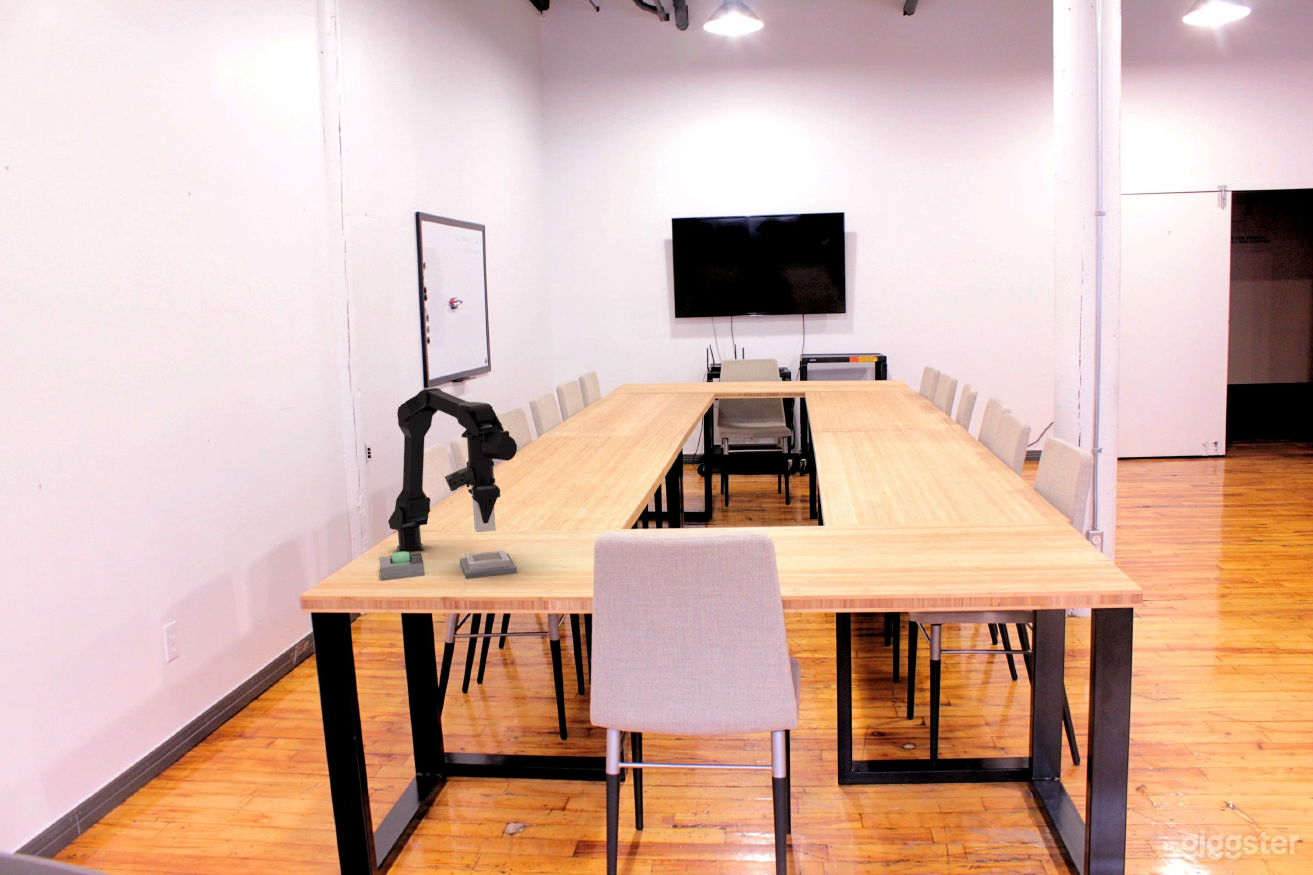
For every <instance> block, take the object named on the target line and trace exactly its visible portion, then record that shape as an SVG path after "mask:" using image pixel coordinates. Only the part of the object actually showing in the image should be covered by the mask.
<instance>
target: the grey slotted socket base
mask: <svg viewBox="0 0 1313 875" xmlns="http://www.w3.org/2000/svg"><path fill="white" fill-rule="evenodd" d="M459 565H460V567H461V569H462V571H463V572H462V573H463V575H464V579H474V578H483V577H491V576H498V575H508V574H510V575H511V574H516V573H518V567H517V566H516V564H515V563H514V561H513V559H512V557H511V556H510V553H507V552H506V551H505V550H504V549H503V550H495V551H484V552H476V553H466V554H465V557H464V558H459Z"/></svg>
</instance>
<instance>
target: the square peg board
mask: <svg viewBox="0 0 1313 875" xmlns="http://www.w3.org/2000/svg"><path fill="white" fill-rule="evenodd" d="M409 558H410V562H402V563H393V561H392V555H387V556H386V555H385V556H380V557H378V560H379V573H380V575H379V576H380V580H381V581H383V580H392V579H402V578H412V577H418V576H419V577H420V576H425V566H424V559H423V554H422V552H417V553H416V552H412V553H409Z"/></svg>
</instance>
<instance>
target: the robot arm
mask: <svg viewBox="0 0 1313 875" xmlns="http://www.w3.org/2000/svg"><path fill="white" fill-rule="evenodd" d="M397 408H398V409H397V412H396V415H397V424H398V427H399V429H400V431H401V432H402V434H403V437H404V439H403V441H404V443H403V444H404V445H403V469H402V471H403V472H402V473H403V475H402V476H403V478H402V490H401V491H400V493H399V494H398V496H397V498H396V499H395V506H394V510H393V512H392V514H391V516H390V517H389V519H388V522H387V523H388V526H389V528H390V529H391V530H395V531H397V538H398V545H397V546H396V547H397V548H396V549H397V552H409V553H416V552H422V551H425V550H424V549H425V548H424V545H423V543H422V536H421V526H425V525H426V526H427V524H428V522H429V521H428V520H429V515H430V512H431V498H430V496H427V495H426V493H425V492H424V488H423V486H424V460H425V457H424V456H425V439H426V438H425V436H426V435H427V434H428V432H429V430H430V429H431V427H432V422H433V417H434V415H435V414H436V413H437V412H438V411H440V412H441V413H444V414H447V415H449V416H451V417H453V418H455V419H456V420H457V423H458V424H459V425H460V426H461V427H463V428H464V429H465V431H464V432H462V433H461V438H465V439H466V442H467V458H468V459H467V461H466V467H463V468H461V469H458V470H456V471H454V472H451V473H449V474H447V475H446V476H444V479H445V481H446V483H447V485H448V487H449V490H450V492H454V491H456V490H458V489H459V488H461V487H463V486H465V487H466V488H469V489H467V491H468V493H469V494H471V498H472V501H473V500H475V501H476V502H478V504H479V508H480V512H481V516H482V520H483V523H488V522H489V519H490V516H491V513H492V510H493V508H494V509H495V505H496V502H497V500H498V498H501V488H500V487H499V486H498V485H497V484H496V478H495V476H494V475H495V474H494V467H495V461H494V460H499V461H500V460H501V461H508V462H509V461H511V460H512V459H513V458H514V457H515V456H516V455H517V451H518V444H517V442H516V440H515V439H514V438H513V437H512V436H510V431H508V430H505V429H504V426H503V423H501V421H500V419H499V418H498V416H497V414H496V412H495V410H494V409H493V406H492V404H489V403H487V402H482V401H480V402H479V401H466V400H465V399H463V398H460V397H458V396H456V395H453V394H450V393H449V392H445V391H443V390H442V389H440V388H438V387H431V388H423V389H422V390H420V391H419V392H418V393H417V394H416V395H415V396H413V397H411V398H409V399H408V400H406V401H405V402H403V403H401V404H400V406H398V407H397ZM470 486H471V488H470Z"/></svg>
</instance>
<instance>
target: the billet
mask: <svg viewBox="0 0 1313 875" xmlns="http://www.w3.org/2000/svg"><path fill="white" fill-rule="evenodd" d="M472 508H473V509H472V510H473V511H472V512H473V526H474V531H475V533H482V532H483V533H484V532H493V531H496V517H495V515H496V512H495V507H494V508H493V510H492V513H491V516H490V519H489V522H488V523H483V520H482V516H481V512H480V508H479V504H478V502H476V501H475V500H473V499H472Z"/></svg>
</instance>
